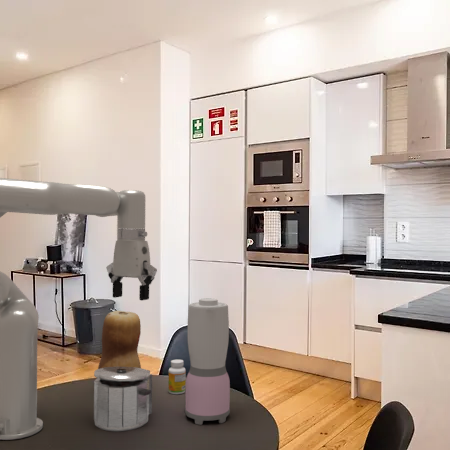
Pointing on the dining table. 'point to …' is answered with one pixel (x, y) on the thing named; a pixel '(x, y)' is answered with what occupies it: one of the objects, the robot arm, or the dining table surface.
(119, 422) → the pot
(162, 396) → the dining table surface
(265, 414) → the dining table surface
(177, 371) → the supplement bottle
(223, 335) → the blender
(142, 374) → the lid
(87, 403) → the dining table surface
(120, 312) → the butternut squash
